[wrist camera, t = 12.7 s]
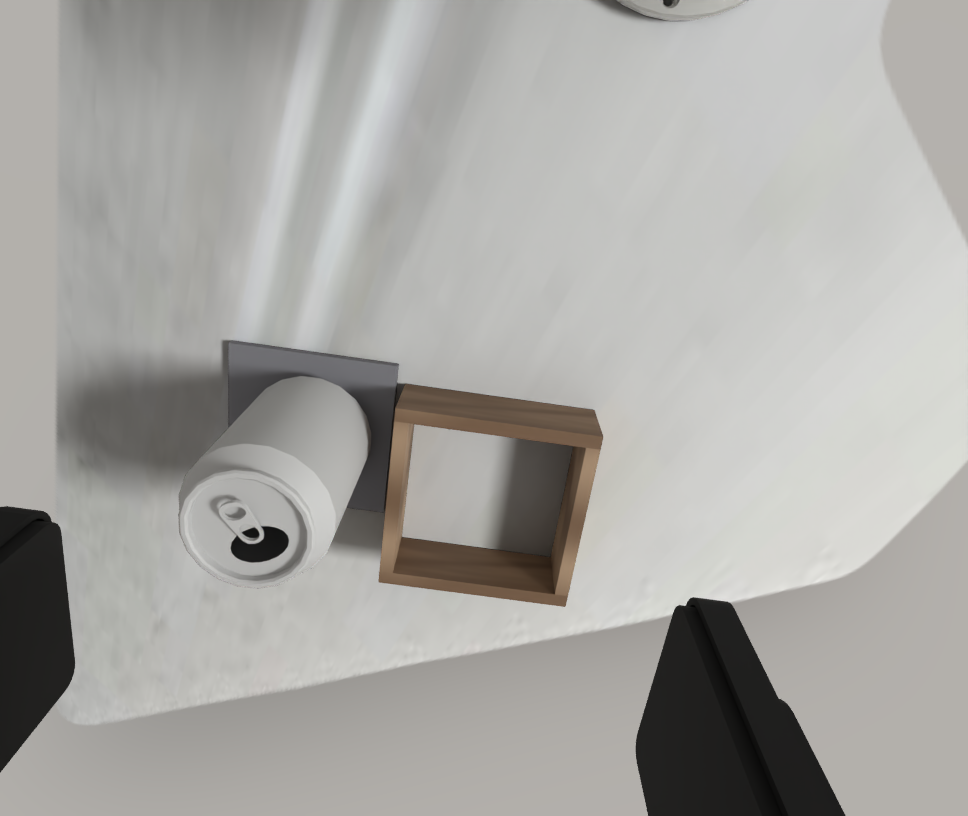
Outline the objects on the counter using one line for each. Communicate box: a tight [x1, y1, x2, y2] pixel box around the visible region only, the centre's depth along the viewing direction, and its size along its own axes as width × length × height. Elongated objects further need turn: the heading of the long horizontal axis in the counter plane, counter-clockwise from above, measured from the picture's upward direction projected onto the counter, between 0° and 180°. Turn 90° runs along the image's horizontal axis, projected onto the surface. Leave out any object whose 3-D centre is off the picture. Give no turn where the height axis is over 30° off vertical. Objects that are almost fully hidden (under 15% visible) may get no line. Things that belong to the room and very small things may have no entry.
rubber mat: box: [228, 341, 399, 513], centre depth 42 cm, size 10×10×1 cm
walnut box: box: [379, 384, 603, 607], centre depth 42 cm, size 12×12×4 cm
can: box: [178, 376, 371, 589], centre depth 36 cm, size 8×8×12 cm
